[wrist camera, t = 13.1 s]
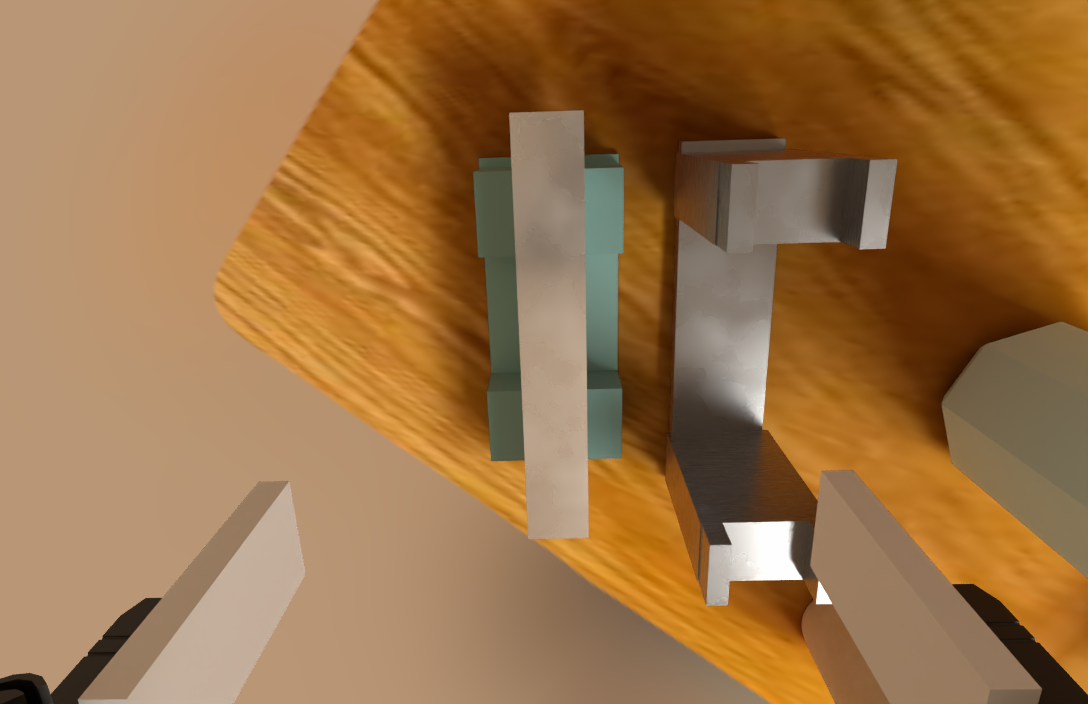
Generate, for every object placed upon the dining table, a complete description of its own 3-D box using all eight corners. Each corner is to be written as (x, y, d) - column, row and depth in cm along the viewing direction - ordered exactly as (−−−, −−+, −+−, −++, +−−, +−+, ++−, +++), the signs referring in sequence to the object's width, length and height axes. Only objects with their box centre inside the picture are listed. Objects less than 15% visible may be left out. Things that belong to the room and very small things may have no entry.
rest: (479, 158, 33) (472, 161, 31) (618, 153, 33) (624, 156, 30) (496, 443, 39) (491, 469, 36) (616, 441, 38) (621, 466, 36)
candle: (790, 599, 42) (859, 737, 32) (877, 573, 41) (973, 707, 32) (811, 664, 43) (883, 814, 34) (895, 640, 43) (992, 786, 33)
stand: (672, 141, 33) (731, 148, 22) (785, 137, 33) (901, 143, 22) (662, 478, 39) (704, 615, 28) (757, 476, 39) (837, 613, 28)
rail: (513, 114, 30) (509, 112, 27) (580, 112, 30) (583, 110, 27) (530, 501, 36) (528, 538, 33) (585, 500, 36) (588, 537, 33)
